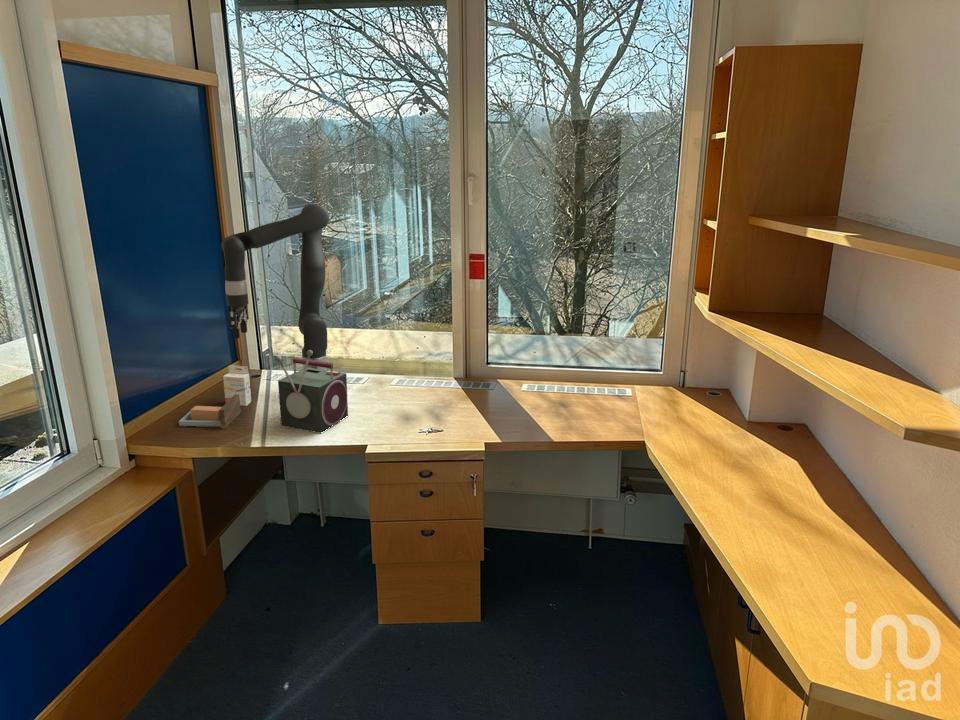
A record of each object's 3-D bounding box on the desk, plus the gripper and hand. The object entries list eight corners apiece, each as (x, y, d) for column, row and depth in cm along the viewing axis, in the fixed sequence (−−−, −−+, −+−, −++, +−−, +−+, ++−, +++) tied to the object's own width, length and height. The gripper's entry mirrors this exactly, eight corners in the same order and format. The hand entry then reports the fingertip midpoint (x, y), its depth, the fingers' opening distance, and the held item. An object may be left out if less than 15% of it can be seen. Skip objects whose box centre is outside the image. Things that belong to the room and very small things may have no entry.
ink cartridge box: (224, 405, 253) (221, 368, 249) (230, 400, 258) (227, 364, 254) (246, 406, 253) (243, 369, 248) (252, 401, 257) (249, 365, 253)
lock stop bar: (223, 417, 241) (222, 407, 239) (218, 421, 237) (217, 411, 236) (197, 415, 241) (195, 405, 240) (191, 420, 237) (190, 409, 236)
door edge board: (240, 412, 247) (239, 394, 245) (225, 428, 232) (223, 410, 230) (236, 411, 247) (234, 394, 245) (221, 428, 232) (219, 410, 230)
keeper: (234, 413, 245) (234, 408, 245) (222, 427, 233) (221, 422, 232) (193, 412, 245) (193, 408, 245) (179, 426, 233) (178, 421, 232)
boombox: (351, 415, 246) (348, 338, 237) (319, 436, 228) (314, 352, 219) (310, 408, 252) (305, 332, 244) (275, 427, 234) (269, 346, 225)
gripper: (240, 296, 233) (244, 340, 238) (253, 288, 247) (256, 330, 251) (219, 295, 233) (223, 340, 238) (233, 288, 246) (236, 330, 251)
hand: (240, 335), depth 244 cm, fingers open, 8 cm apart
